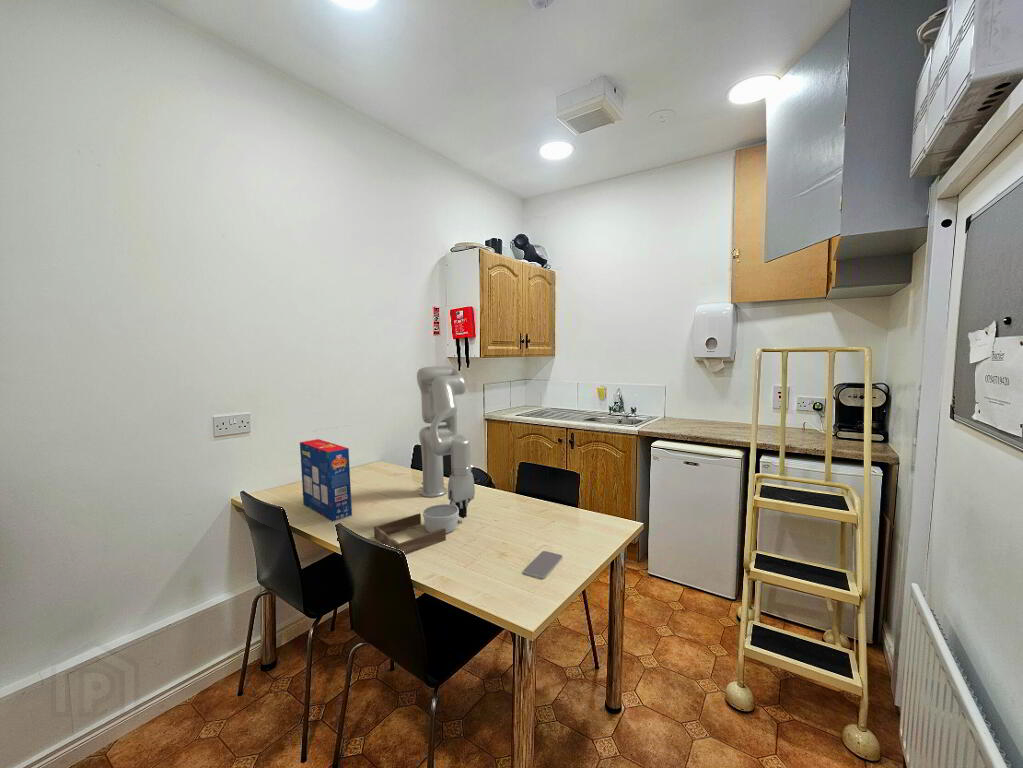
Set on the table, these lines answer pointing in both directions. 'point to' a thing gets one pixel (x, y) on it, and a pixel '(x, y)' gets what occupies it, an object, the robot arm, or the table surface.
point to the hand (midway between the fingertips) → (462, 516)
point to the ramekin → (441, 517)
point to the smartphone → (542, 564)
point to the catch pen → (410, 545)
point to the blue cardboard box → (326, 478)
